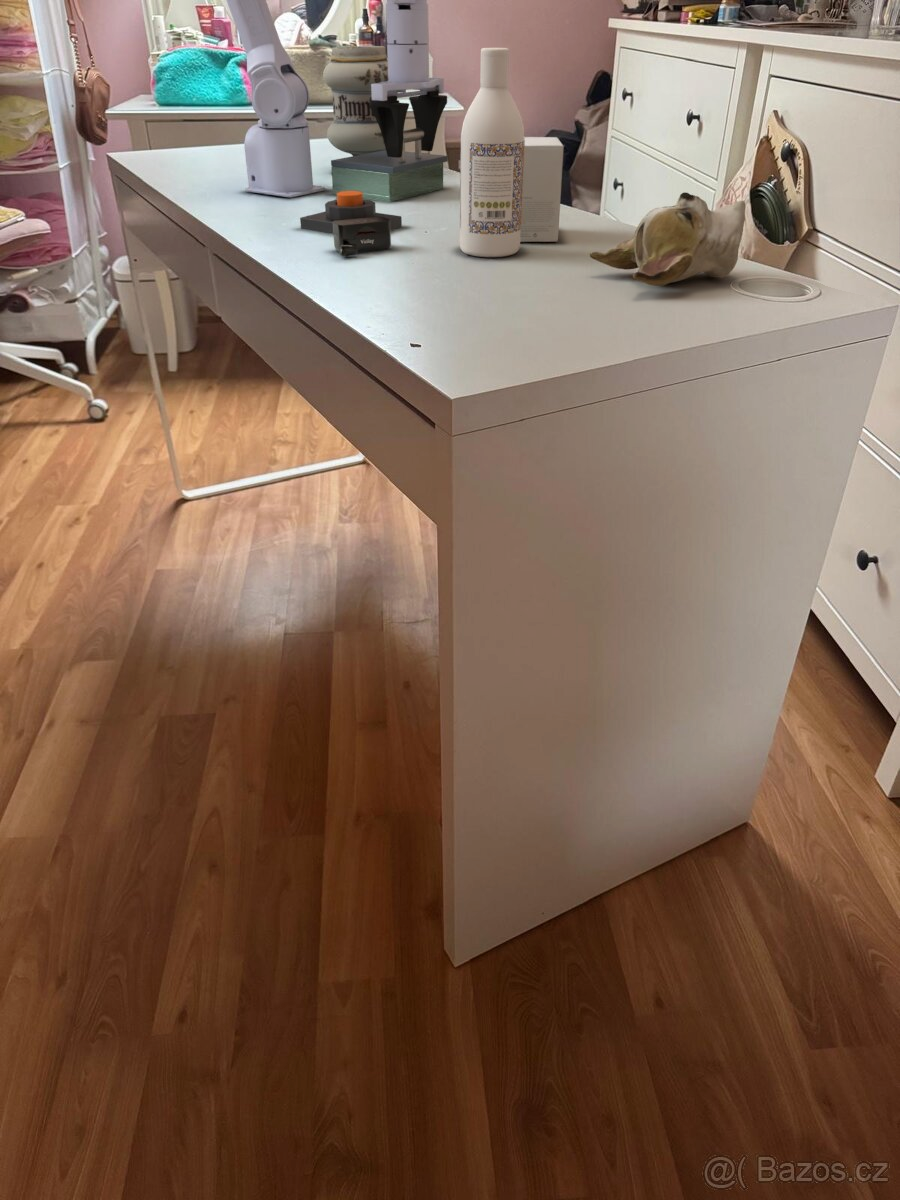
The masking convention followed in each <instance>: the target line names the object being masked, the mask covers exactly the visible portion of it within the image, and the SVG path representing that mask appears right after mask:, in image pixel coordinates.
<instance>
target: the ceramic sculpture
mask: <svg viewBox="0 0 900 1200" xmlns="http://www.w3.org/2000/svg"><path fill="white" fill-rule="evenodd" d="M746 207H747V206H746V202H745V200H739V201H737V202H735V203H731V204H727V205H723V206H720V207H718V208H716V209H714V210H710V209H709V206H708V204H707V202H706V201H705V200H704V199H702V198H701V197H700V196H698V195H694V194H690V193H689V192H684V191H683V192H682V193H680V195H679V197H678V199H677V200H676V204H675V205H671V206H662V207H655V208H653V209H651V210H650V211H649V212H647V214H646V215H645V216H644V217H643V218H642V219H641V221H639V223H638V224H637V227H636V229H635V233H634V236H633V237H631V239H629V240H625V241H622V242H621V243H619V244H618V245H617V246H616V247H615V248H611V249H608V250H607V252H601V251H592V252H591V253H589V257H590V259H592V260H595V261H597V262H599V263H602V264H604V265H607V266H609V267H611V268H615V269H618V270H635V269H638V270H637V271H636V272H634V273H633V274H632V279H634V280H636V281H639V282H641V283H644V284H647V285H650V286H656V287H657V286H659V287H662V286H665V285H668V284H671V283H676V282H680V281H681V282H682V281H683V280H686V279H688V278H691V277H693V276H696V275H699V274H705V275H706V276H709V277H711V278H720V279H721V278H722V279H723V278H725V277H728V276H729V275H730V274H731V272H732V271H733V270H734V269H735V267H736V265H737V263H738V260H739V250H740V246H741V242H742V236H743V232H744V226H745V221H746Z"/></svg>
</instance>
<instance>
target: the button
mask: <svg viewBox="0 0 900 1200" xmlns="http://www.w3.org/2000/svg"><path fill="white" fill-rule="evenodd" d="M363 199H364V198H363V193H362V192H359V191H341V192H338V193H337V195H336V200H337V205H339V206H360V205H363Z"/></svg>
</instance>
